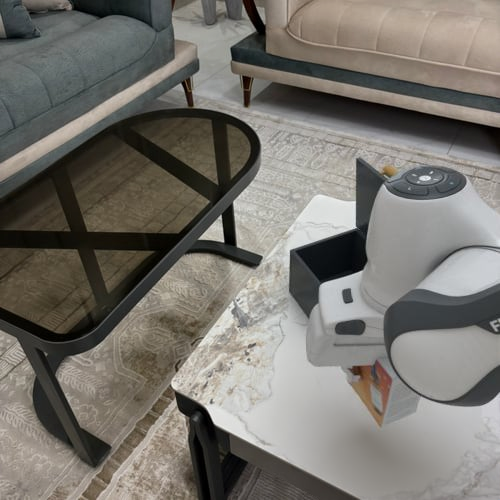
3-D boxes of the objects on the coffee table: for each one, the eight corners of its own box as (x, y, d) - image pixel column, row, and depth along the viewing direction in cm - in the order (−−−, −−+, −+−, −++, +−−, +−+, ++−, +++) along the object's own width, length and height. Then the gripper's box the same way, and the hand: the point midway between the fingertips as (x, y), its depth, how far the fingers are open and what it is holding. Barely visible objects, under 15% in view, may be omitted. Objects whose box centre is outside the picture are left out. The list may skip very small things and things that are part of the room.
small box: (346, 381, 69) (353, 330, 62) (381, 367, 70) (390, 315, 63) (380, 430, 63) (391, 379, 56) (417, 413, 64) (432, 362, 58)
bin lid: (402, 195, 75) (428, 184, 76) (355, 158, 84) (379, 148, 85) (396, 265, 85) (419, 255, 87) (355, 226, 94) (376, 217, 95)
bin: (321, 336, 89) (325, 293, 82) (288, 291, 97) (289, 249, 90) (388, 309, 93) (397, 267, 86) (351, 269, 101) (357, 227, 95)
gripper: (485, 279, 57) (459, 356, 66) (305, 284, 58) (303, 359, 67) (507, 320, 52) (475, 397, 61) (310, 325, 53) (307, 400, 62)
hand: (384, 377), depth 64 cm, fingers closed on small box, 7 cm apart
